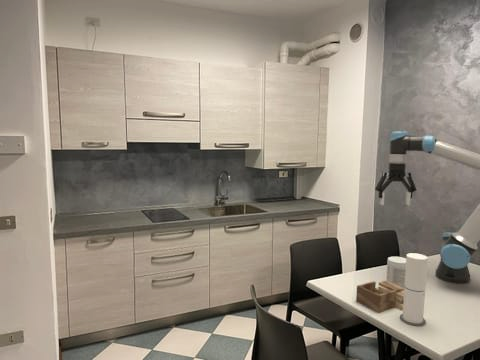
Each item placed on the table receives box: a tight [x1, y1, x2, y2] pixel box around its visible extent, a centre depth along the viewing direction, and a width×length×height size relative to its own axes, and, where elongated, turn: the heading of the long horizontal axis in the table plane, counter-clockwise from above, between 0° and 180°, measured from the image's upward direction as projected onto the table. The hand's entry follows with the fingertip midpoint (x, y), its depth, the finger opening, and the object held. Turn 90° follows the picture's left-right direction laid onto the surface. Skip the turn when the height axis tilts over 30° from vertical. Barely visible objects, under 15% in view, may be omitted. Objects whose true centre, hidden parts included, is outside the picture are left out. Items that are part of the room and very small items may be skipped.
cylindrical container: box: [402, 252, 428, 324], centre depth 136 cm, size 7×7×25 cm
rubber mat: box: [399, 313, 427, 327], centre depth 137 cm, size 9×9×1 cm
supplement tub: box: [386, 256, 406, 288], centre depth 164 cm, size 10×10×15 cm
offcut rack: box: [355, 280, 404, 313], centre depth 150 cm, size 17×15×7 cm
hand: (394, 204), depth 179 cm, fingers open, 13 cm apart
